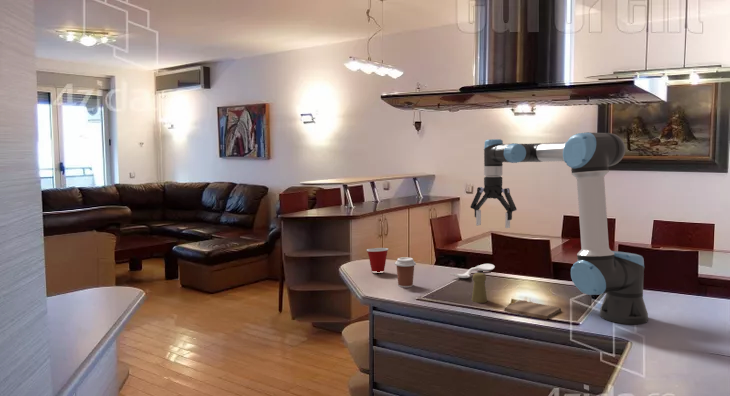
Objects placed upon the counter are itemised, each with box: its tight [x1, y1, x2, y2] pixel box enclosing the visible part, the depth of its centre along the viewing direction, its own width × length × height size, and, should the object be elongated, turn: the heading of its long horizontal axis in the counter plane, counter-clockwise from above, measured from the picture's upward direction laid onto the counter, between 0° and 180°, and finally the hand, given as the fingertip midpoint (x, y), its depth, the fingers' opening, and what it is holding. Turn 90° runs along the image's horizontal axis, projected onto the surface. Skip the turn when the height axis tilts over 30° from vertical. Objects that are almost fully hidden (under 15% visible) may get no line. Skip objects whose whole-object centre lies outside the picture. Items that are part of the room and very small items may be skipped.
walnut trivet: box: [503, 299, 562, 320], centre depth 200 cm, size 16×13×1 cm
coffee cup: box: [394, 256, 417, 288], centre depth 239 cm, size 9×9×12 cm
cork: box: [471, 272, 488, 304], centre depth 214 cm, size 6×6×11 cm
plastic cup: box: [366, 247, 389, 272], centre depth 265 cm, size 11×11×12 cm
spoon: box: [449, 263, 496, 279], centre depth 260 cm, size 9×32×4 cm, turn 140°
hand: (492, 226), depth 230 cm, fingers open, 13 cm apart
